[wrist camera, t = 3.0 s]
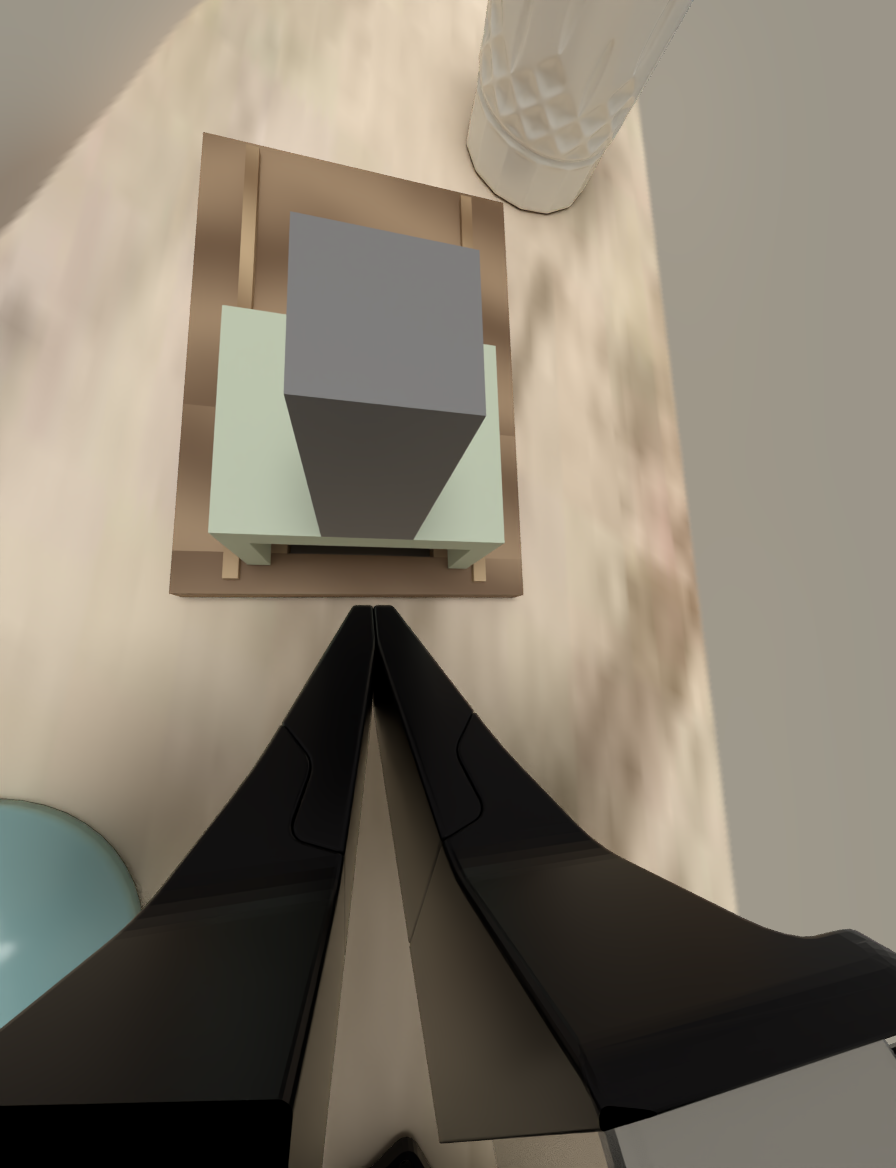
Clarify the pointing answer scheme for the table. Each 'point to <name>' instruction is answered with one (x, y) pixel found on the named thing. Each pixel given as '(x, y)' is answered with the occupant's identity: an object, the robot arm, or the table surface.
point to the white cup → (560, 90)
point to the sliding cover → (360, 403)
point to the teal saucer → (54, 899)
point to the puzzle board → (259, 281)
